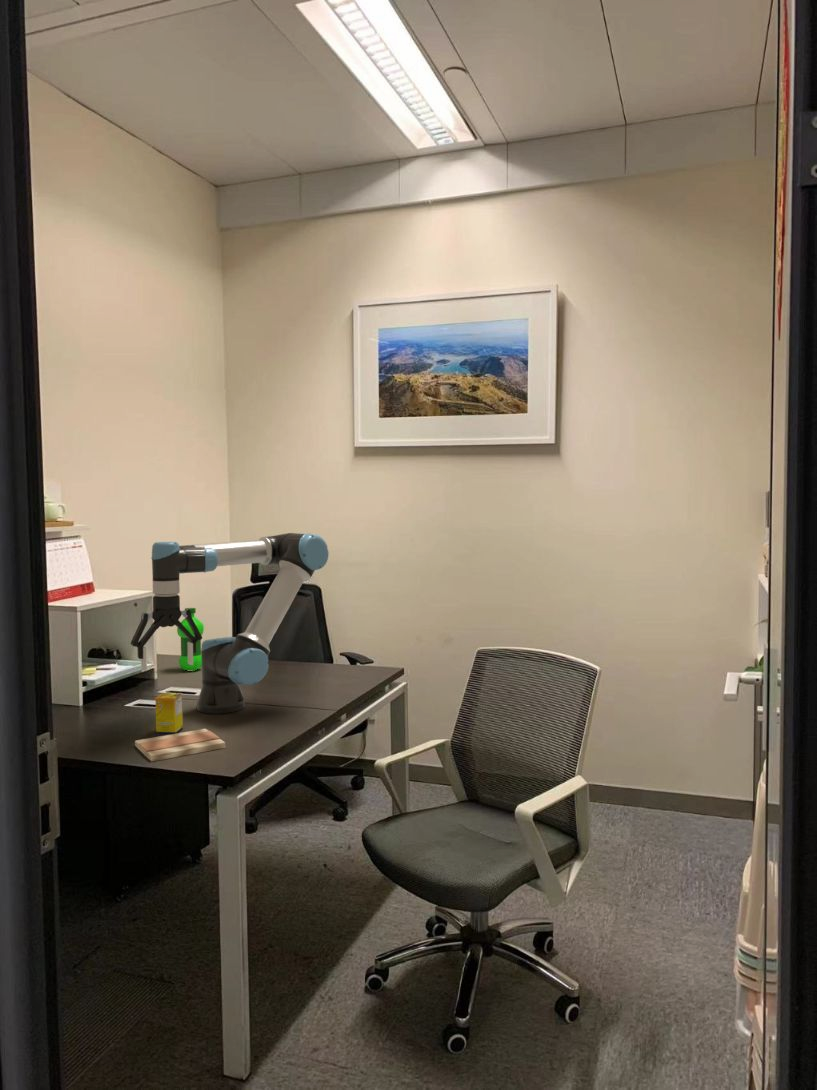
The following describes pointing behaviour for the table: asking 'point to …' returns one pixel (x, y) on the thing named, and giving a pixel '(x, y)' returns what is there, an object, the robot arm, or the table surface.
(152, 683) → the table surface
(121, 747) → the table surface
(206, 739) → the board
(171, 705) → the supplement box
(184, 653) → the plastic bottle
